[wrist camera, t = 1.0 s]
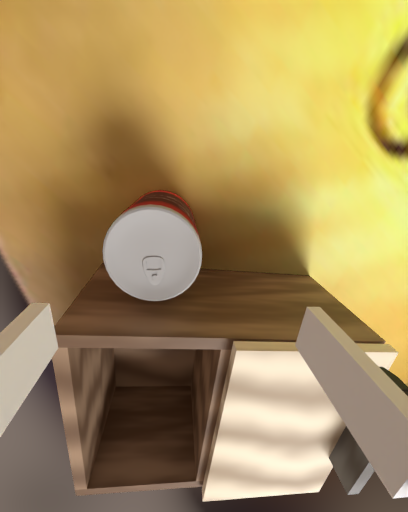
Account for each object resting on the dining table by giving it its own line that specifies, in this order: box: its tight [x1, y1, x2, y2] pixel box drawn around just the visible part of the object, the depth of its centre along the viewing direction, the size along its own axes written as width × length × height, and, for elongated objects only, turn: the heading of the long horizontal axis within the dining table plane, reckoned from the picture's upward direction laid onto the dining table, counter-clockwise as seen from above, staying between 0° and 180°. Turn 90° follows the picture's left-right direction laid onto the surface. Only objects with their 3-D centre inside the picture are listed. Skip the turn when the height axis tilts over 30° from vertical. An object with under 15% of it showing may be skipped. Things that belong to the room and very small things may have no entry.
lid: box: [202, 341, 398, 502], centre depth 21 cm, size 22×14×4 cm, turn 173°
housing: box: [52, 263, 386, 496], centre depth 29 cm, size 22×28×13 cm
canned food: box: [103, 190, 202, 301], centre depth 22 cm, size 8×8×11 cm
